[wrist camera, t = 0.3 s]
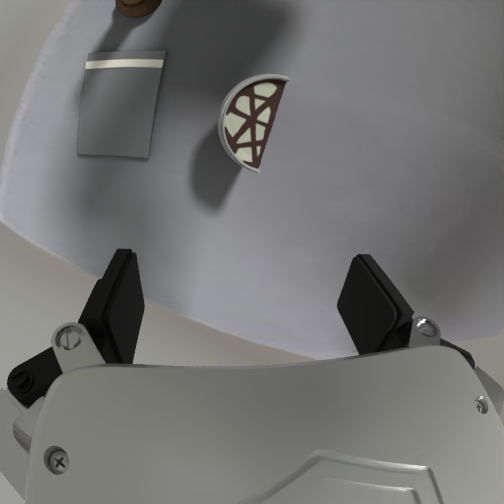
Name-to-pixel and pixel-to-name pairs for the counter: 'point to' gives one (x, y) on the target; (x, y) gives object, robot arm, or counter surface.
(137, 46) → the counter surface
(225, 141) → the food container
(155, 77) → the mat
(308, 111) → the counter surface
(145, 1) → the brown wooden turned post
